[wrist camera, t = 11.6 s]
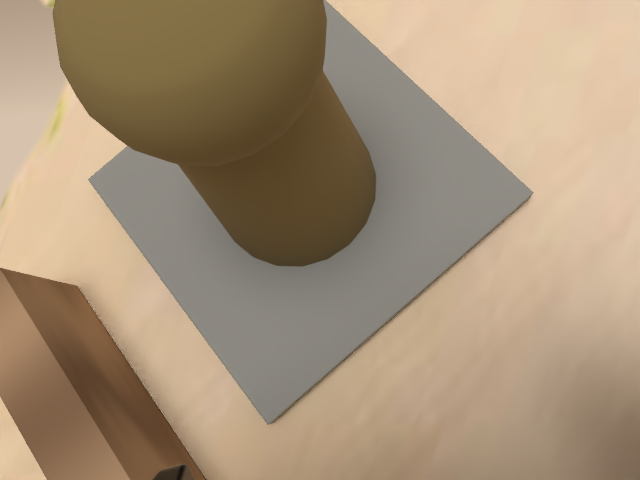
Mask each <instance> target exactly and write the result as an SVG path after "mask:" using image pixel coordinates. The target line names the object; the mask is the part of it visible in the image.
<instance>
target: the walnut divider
mask: <svg viewBox="0 0 640 480" xmlns="http://www.w3.org/2000/svg"><path fill="white" fill-rule="evenodd" d="M0 397H1V399H2V400H3V402H4V404H5V406H6V407H7V409H8V411H9V413H10V415H11V416H12V418H13V420H14V422H15V423H16V425H17V427H18V429H19V430H20V432H21V434H22V436H23V438H24V439H25V441H26V443H27V445H28V446H29V448H30V450H31V452H32V454H33V455H34V457H35V459H36V461H37V462H38V464H39V466H40V468H41V469H42V471H43V473H44V475H45V477H46V478H47V480H152V479H153V478H154V477H155V475H156V474H157V473H158V472H159V471H160V470H162V469H165V468H168V467H172V466H176V465H180V464H186V465H188V466H189V468H190V469H191V471H192V473H193V476H194V478H195V480H206V479H205V478H204V476H203V475H202V473H201V472H200V470H199V469H198V467H197V466H196V464H195V463H194V461H193V460H192V458H191V457H190V455H189V454H188V452H187V451H186V449H185V448H184V446H183V445H182V443H181V442H180V440H179V439H178V437H177V436H176V434H175V433H174V431H173V430H172V428H171V427H170V425H169V424H168V422H167V421H166V419H165V418H164V416H163V415H162V413H161V412H160V410H159V409H158V407H157V406H156V404H155V403H154V401H153V400H152V398H151V397H150V395H149V394H148V392H147V391H146V389H145V388H144V386H143V385H142V383H141V382H140V380H139V379H138V377H137V376H136V374H135V373H134V371H133V370H132V368H131V367H130V365H129V364H128V362H127V361H126V359H125V358H124V356H123V355H122V353H121V352H120V350H119V349H118V347H117V346H116V344H115V343H114V341H113V340H112V338H111V337H110V335H109V334H108V332H107V331H106V329H105V328H104V326H103V325H102V323H101V322H100V320H99V319H98V317H97V316H96V314H95V313H94V311H93V310H92V308H91V307H90V305H89V304H88V302H87V301H86V299H85V298H84V296H83V295H82V293H81V292H80V290H79V289H78V287H77V286H74V285H70V284H66V283H62V282H57V281H53V280H49V279H45V278H41V277H36V276H32V275H28V274H24V273H19V272H15V271H11V270H7V269H2V268H0Z"/></svg>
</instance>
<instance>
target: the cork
mask: <svg viewBox="0 0 640 480" xmlns="http://www.w3.org/2000/svg"><path fill="white" fill-rule="evenodd" d="M53 19H54V27H55V34H56V42H57V48H58V54H59V61H60V67H61V69H62V70H63V72H64V74H65V76H66V78H67V79H68V81H69V83H70V85H71V87H72V89H73V90H74V92H75V94H76V96H77V97H78V99H79V100H80V102H81V103H82V105H83V106H84V108H85V109H86V111H87V112H88V114H89V115H90V116H91V117H92V118H93V119H94V120H96V121H97V122H98V123H99V124H101V125H102V126H103V127H104V128H106V129H107V130H108V131H109V132H110V133H112V134H113V135H114V136H115V137H117V138H118V139H119V140H121V141H122V142H123V143H125V144H126V145H127V146H129V147H130V148H131V149H133V150H135V151H138V152H141V153H144V154H147V155H150V156H153V157H156V158H159V159H162V160H165V161H168V162H171V163H175V164H178V165H179V167H180V168H181V170H182V171H183V172H184V174H185V175H186V176H187V178H188V179H189V180H190V182H191V183H192V184H193V186H194V187H195V189H196V190H197V191H198V193H199V194H200V195H201V197H202V198H203V199H204V201H205V202H206V204H207V205H208V206H209V208H210V209H211V210H212V212H213V213H214V214H215V216H216V217H217V218H218V220H219V221H220V223H221V224H222V225H223V227H224V228H225V229H226V231H227V232H228V233H229V235H230V236H231V237H232V239H233V240H234V242H235V243H237V244H238V245H239V246H240V247H242V248H243V249H244V250H245V251H246V252H248V253H249V254H250V255H251V256H252V257H254V258H257V259H259V260H262V261H265V262H268V263H270V264H273V265H276V266H298V267H303V266H306V265H310V264H313V263H316V262H320V261H323V260H327V259H329V258H330V257H332V256H333V255H335V254H336V253H338V252H339V251H341V250H342V249H344V248H345V247H347V246H348V245H350V244H351V242H352V241H353V240H354V239H355V237H356V236H357V235H358V234H359V232H360V231H361V230H362V229H363V227H364V226H365V225H366V223H367V220H368V218H369V215H370V213H371V210H372V207H373V205H374V202H375V195H376V173H375V169H374V166H373V163H372V160H371V157H370V153H369V151H368V149H367V147H366V146H365V144H364V142H363V140H362V139H361V137H360V135H359V133H358V131H357V130H356V128H355V126H354V124H353V123H352V121H351V119H350V117H349V116H348V114H347V112H346V110H345V108H344V107H343V105H342V103H341V101H340V100H339V98H338V96H337V94H336V93H335V91H334V89H333V87H332V85H331V84H330V82H329V80H328V78H327V77H326V75H325V73H324V71H323V65H324V58H325V46H326V30H327V17H326V12H325V7H324V2H323V0H55V4H54V9H53Z"/></svg>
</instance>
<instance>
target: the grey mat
mask: <svg viewBox="0 0 640 480" xmlns="http://www.w3.org/2000/svg"><path fill="white" fill-rule="evenodd" d="M323 2H324V7H325V12H326V17H327V30H326V46H325V58H324V65H323V71H324V73H325V75H326V77H327V78H328V80H329V82H330V84H331V85H332V87H333V89H334V91H335V93H336V94H337V96H338V98H339V100H340V101H341V103H342V105H343V107H344V108H345V110H346V112H347V114H348V116H349V117H350V119H351V121H352V123H353V124H354V126H355V128H356V130H357V131H358V133H359V135H360V137H361V139H362V140H363V142H364V144H365V146H366V147H367V149H368V151H369V153H370V157H371V160H372V163H373V166H374V169H375V173H376V195H375V202H374V205H373V207H372V210H371V213H370V215H369V218H368V220H367V223H366V225H365V226H364V227H363V229H362V230H361V231H360V232H359V234H358V235H357V236H356V237H355V239H354V240H353V241H352V242H351V244H350V245H348V246H347V247H345V248H344V249H342V250H341V251H339V252H338V253H336V254H335V255H333V256H332V257H330V258H329V259H327V260H323V261H320V262H316V263H313V264H310V265H306V266H303V267H298V266H276V265H273V264H270V263H268V262H265V261H262V260H259V259H257V258H254V257H252V256H251V255H250V254H249V253H248V252H246V251H245V250H244V249H243V248H242V247H240V246H239V245H238V244H237V243H235V242H234V240H233V239H232V237H231V236H230V235H229V233H228V232H227V231H226V229H225V228H224V227H223V225H222V224H221V223H220V221H219V220H218V218H217V217H216V216H215V214H214V213H213V212H212V210H211V209H210V208H209V206H208V205H207V204H206V202H205V201H204V199H203V198H202V197H201V195H200V194H199V193H198V191H197V190H196V189H195V187H194V186H193V184H192V183H191V182H190V180H189V179H188V178H187V176H186V175H185V174H184V172H183V171H182V170H181V168H180V167H179V165H178V164H175V163H171V162H168V161H165V160H162V159H159V158H156V157H153V156H150V155H147V154H144V153H141V152H138V151H135V150H133V149H131V148H130V147H129V146H127V147H126V148H125V149H123V150H122V151H121V152H120V153H119V154H118V155H116V156H115V157H114V158H113V159H112V160H110V161H109V162H108V163H107V164H106V165H104V166H103V167H102V168H101V169H100V170H99V171H97V172H96V173H95V174H94V175H93V176H91V177H90V178H89V179H88V180H89V182H90V183H91V184H92V186H93V187H94V189H95V190H96V191H97V193H98V194H99V195H100V197H101V198H102V199H103V201H104V202H105V204H106V205H107V206H108V208H109V209H110V210H111V212H112V213H113V214H114V216H115V217H116V219H117V220H118V221H119V223H120V224H121V225H122V227H123V228H124V229H125V231H126V232H127V234H128V235H129V236H130V238H131V239H132V240H133V242H134V243H135V244H136V246H137V247H138V249H139V250H140V251H141V253H142V254H143V255H144V257H145V258H146V259H147V261H148V262H149V264H150V265H151V266H152V268H153V269H154V270H155V272H156V273H157V274H158V276H159V277H160V279H161V280H162V281H163V283H164V284H165V285H166V287H167V288H168V289H169V291H170V292H171V294H172V295H173V296H174V298H175V299H176V300H177V302H178V303H179V304H180V306H181V307H182V309H183V310H184V311H185V313H186V314H187V315H188V317H189V318H190V319H191V321H192V322H193V324H194V325H195V326H196V328H197V329H198V330H199V332H200V333H201V334H202V336H203V337H204V339H205V340H206V341H207V343H208V344H209V345H210V347H211V348H212V349H213V351H214V352H215V354H216V355H217V356H218V358H219V359H220V360H221V362H222V363H223V364H224V366H225V367H226V369H227V370H228V371H229V373H230V374H231V375H232V377H233V378H234V379H235V381H236V382H237V384H238V385H239V386H240V388H241V389H242V390H243V392H244V393H245V394H246V396H247V397H248V399H249V400H250V401H251V403H252V404H253V405H254V407H255V408H256V409H257V411H258V412H259V414H260V415H261V416H262V418H263V419H264V420H265V422H266V423H267V424H271V423H273V422H274V421H275V420H276V419H277V418H278V417H279V416H281V415H282V414H283V413H284V412H285V411H286V410H287V409H289V408H290V407H291V406H292V405H293V404H294V403H295V402H297V401H298V400H299V399H300V398H301V397H302V396H303V395H305V394H306V393H307V392H308V391H309V390H310V389H311V388H313V387H314V386H315V385H316V384H317V383H318V382H320V381H321V380H322V379H323V378H324V377H325V376H326V375H328V374H329V373H330V372H331V371H332V370H333V369H334V368H336V367H337V366H338V365H339V364H340V363H341V362H342V361H344V360H345V359H346V358H347V357H348V356H349V355H350V354H352V353H353V352H354V351H355V350H356V349H357V348H358V347H360V346H361V345H362V344H363V343H364V342H365V341H366V340H368V339H369V338H370V337H371V336H372V335H373V334H374V333H376V332H377V331H378V330H379V329H380V328H381V327H383V326H384V325H385V324H386V323H387V322H388V321H389V320H391V319H392V318H393V317H394V316H395V315H396V314H397V313H399V312H400V311H401V310H402V309H403V308H404V307H405V306H407V305H408V304H409V303H410V302H411V301H412V300H413V299H415V298H416V297H417V296H418V295H419V294H420V293H421V292H423V291H424V290H425V289H426V288H427V287H428V286H429V285H431V284H432V283H433V282H434V281H435V280H436V279H437V278H439V277H440V276H441V275H442V274H443V273H444V272H446V271H447V270H448V269H449V268H450V267H451V266H452V265H454V264H455V263H456V262H457V261H458V260H459V259H460V258H462V257H463V256H464V255H465V254H466V253H467V252H468V251H470V250H471V249H472V248H473V247H474V246H475V245H476V244H478V243H479V242H480V241H481V240H482V239H483V238H484V237H486V236H487V235H488V234H489V233H490V232H491V231H492V230H494V229H495V228H496V227H497V226H498V225H499V224H500V223H502V222H503V221H504V220H505V219H506V218H507V217H509V216H510V215H511V214H512V213H513V212H514V211H515V210H517V209H518V208H519V207H520V206H521V205H522V204H523V203H525V202H526V201H527V200H528V199H529V198H530V197H531V195H532V194H533V192H532V191H531V190H530V189H529V188H528V187H527V186H526V185H525V184H523V183H522V182H521V181H520V180H519V179H518V178H517V177H516V176H515V175H514V174H513V173H512V172H510V171H509V170H508V169H507V168H506V167H505V166H504V165H503V164H502V163H501V162H500V161H499V160H497V159H496V158H495V157H494V156H493V155H492V154H491V153H490V152H489V151H488V150H487V149H486V148H485V147H483V146H482V145H481V144H480V143H479V142H478V141H477V140H476V139H475V138H474V137H473V136H472V135H470V134H469V133H468V132H467V131H466V130H465V129H464V128H463V127H462V126H461V125H460V124H459V123H458V122H456V121H455V120H454V119H453V118H452V117H451V116H450V115H449V114H448V113H447V112H446V111H445V110H443V109H442V108H441V107H440V106H439V105H438V104H437V103H436V102H435V101H434V100H433V99H432V98H430V97H429V96H428V95H427V94H426V93H425V92H424V91H423V90H422V89H421V88H420V87H419V86H418V85H416V84H415V83H414V82H413V81H412V80H411V79H410V78H409V77H408V76H407V75H406V74H405V73H403V72H402V71H401V70H400V69H399V68H398V67H397V66H396V65H395V64H394V63H393V62H392V61H390V60H389V59H388V58H387V57H386V56H385V55H384V54H383V53H382V52H381V51H380V50H379V49H378V48H376V47H375V46H374V45H373V44H372V43H371V42H370V41H369V40H368V39H367V38H366V37H365V36H363V35H362V34H361V33H360V32H359V31H358V30H357V29H356V28H355V27H354V26H353V25H352V24H350V23H349V22H348V21H347V20H346V19H345V18H344V17H343V16H342V15H341V14H340V13H339V12H338V11H336V10H335V9H334V8H333V7H332V6H331V5H330V4H329V3H328V2H327V1H326V0H323Z"/></svg>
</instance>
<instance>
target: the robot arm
mask: <svg viewBox="0 0 640 480" xmlns="http://www.w3.org/2000/svg"><path fill="white" fill-rule="evenodd" d="M152 480H195V478H194V476H193V473H192V471H191V469H190V468H189V466H188V465H186V464H180V465H176V466H172V467H168V468H165V469H162V470H160V471H159V472H158V473H157V474H156V475H155V477H154V478H153V479H152Z"/></svg>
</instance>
